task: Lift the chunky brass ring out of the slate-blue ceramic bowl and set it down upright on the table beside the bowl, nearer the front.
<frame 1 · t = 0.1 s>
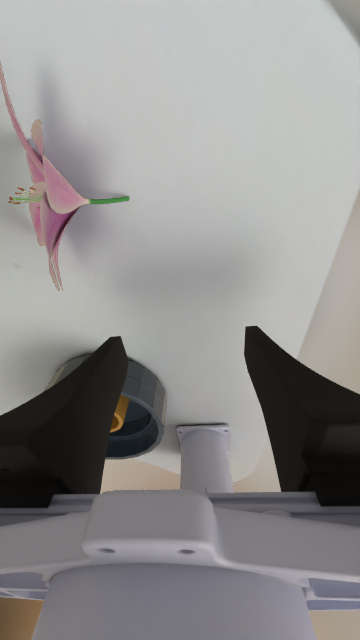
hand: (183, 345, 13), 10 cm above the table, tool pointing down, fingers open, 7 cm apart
lily: (76, 192, 18), on the table
bowl: (111, 393, 31), on the table
ring: (110, 396, 31), resting on bowl
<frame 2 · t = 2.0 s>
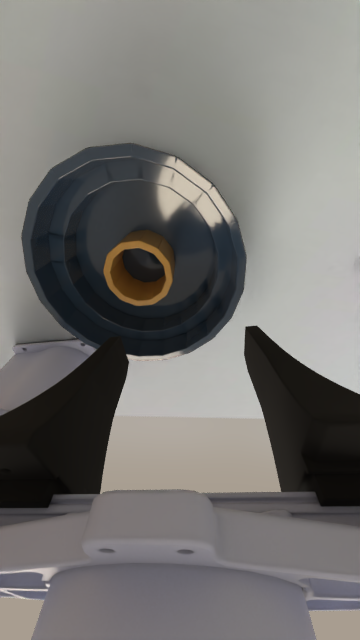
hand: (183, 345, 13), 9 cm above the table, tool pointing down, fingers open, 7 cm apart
bowl: (146, 258, 20), on the table
ring: (145, 260, 20), resting on bowl
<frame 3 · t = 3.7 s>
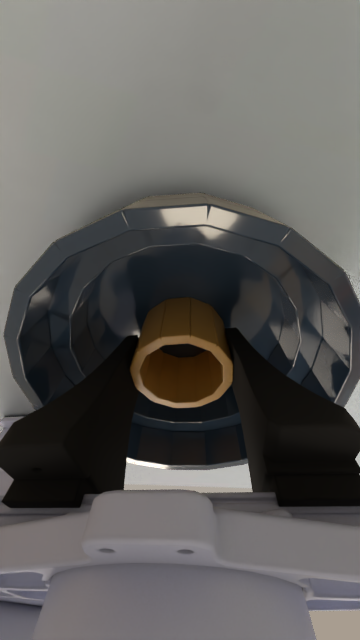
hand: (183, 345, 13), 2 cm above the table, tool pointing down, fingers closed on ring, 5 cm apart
bowl: (183, 328, 14), on the table
ring: (183, 333, 14), point 1 cm above the table, touching bowl, gripper
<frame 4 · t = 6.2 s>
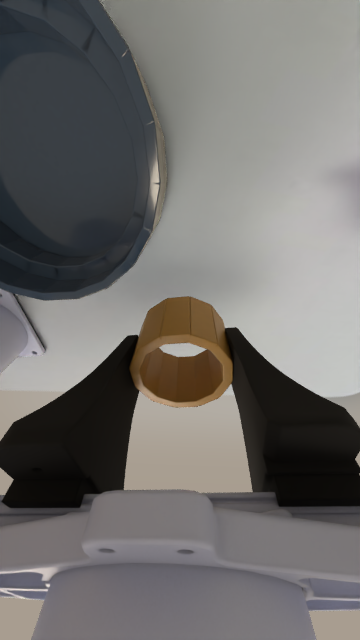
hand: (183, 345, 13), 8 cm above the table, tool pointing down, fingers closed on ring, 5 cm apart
bowl: (57, 169, 15), on the table
ring: (182, 332, 14), point 7 cm above the table, touching gripper
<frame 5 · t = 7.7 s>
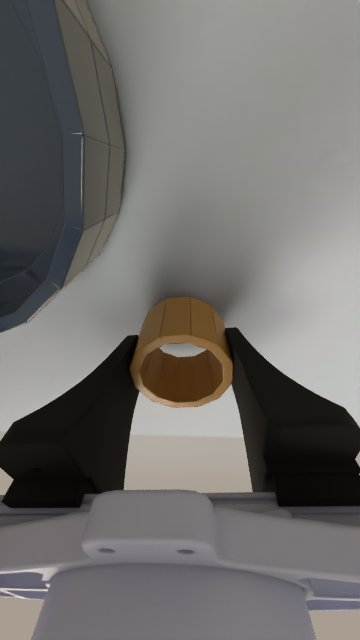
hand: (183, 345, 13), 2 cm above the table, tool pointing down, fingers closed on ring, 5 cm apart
ring: (183, 332, 14), point 1 cm above the table, touching gripper
when the fingers open (1 cm above the table, at t = 8.5 s): ring stays where it is, on the table.
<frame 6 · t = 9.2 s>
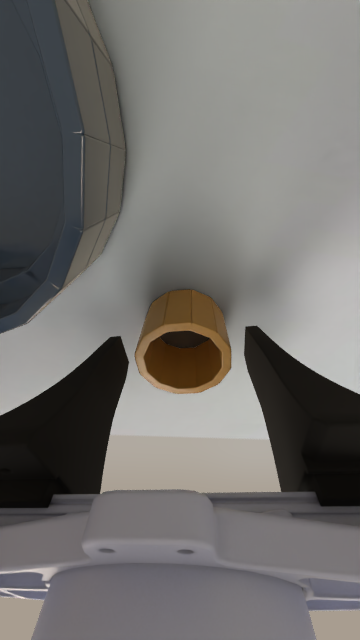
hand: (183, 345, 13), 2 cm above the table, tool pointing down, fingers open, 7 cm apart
ring: (184, 324, 15), on the table
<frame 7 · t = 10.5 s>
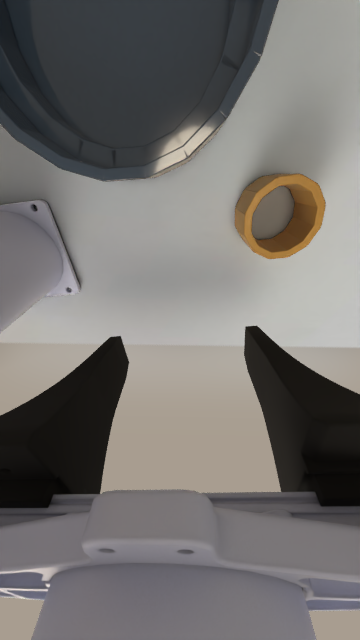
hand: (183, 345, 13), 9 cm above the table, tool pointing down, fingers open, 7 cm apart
bowl: (119, 18, 12), on the table
ring: (267, 212, 18), on the table
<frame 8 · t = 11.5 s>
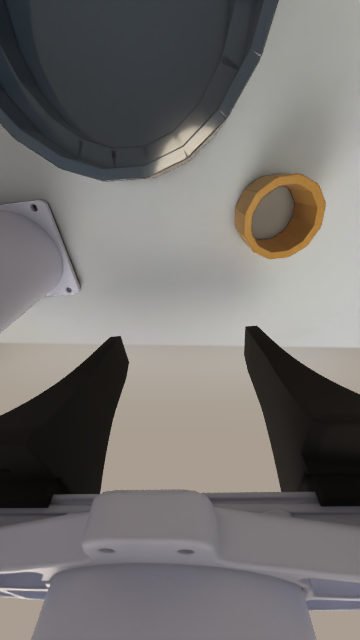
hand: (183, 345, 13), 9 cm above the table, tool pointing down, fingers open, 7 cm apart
bowl: (119, 18, 12), on the table
ring: (267, 212, 18), on the table
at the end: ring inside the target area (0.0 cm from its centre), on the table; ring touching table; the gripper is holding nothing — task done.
